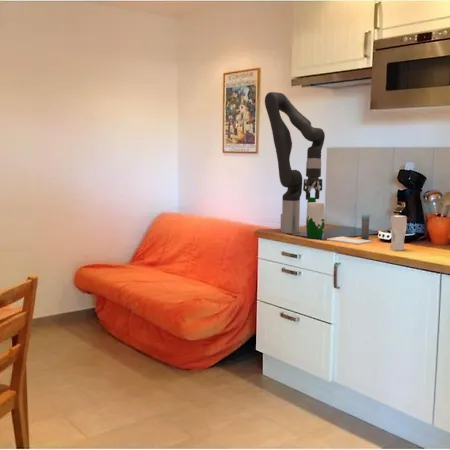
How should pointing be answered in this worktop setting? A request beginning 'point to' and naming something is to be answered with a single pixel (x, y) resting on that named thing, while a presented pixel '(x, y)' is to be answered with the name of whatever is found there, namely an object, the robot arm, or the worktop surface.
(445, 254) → the worktop surface
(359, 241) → the pad
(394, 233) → the beer glass
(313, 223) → the milk carton
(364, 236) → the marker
